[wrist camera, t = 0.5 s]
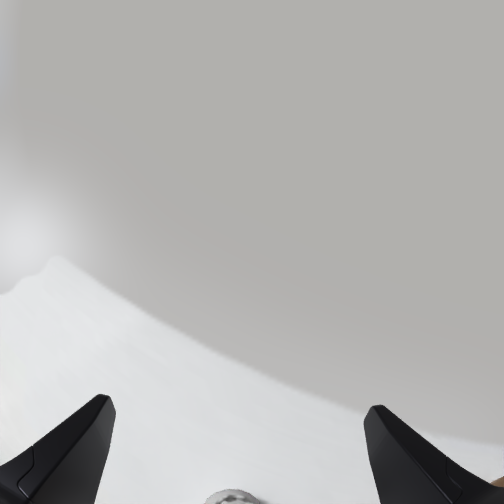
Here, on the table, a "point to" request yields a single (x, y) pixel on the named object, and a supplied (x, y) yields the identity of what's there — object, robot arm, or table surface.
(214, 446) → the table surface
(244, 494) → the rook chess piece
